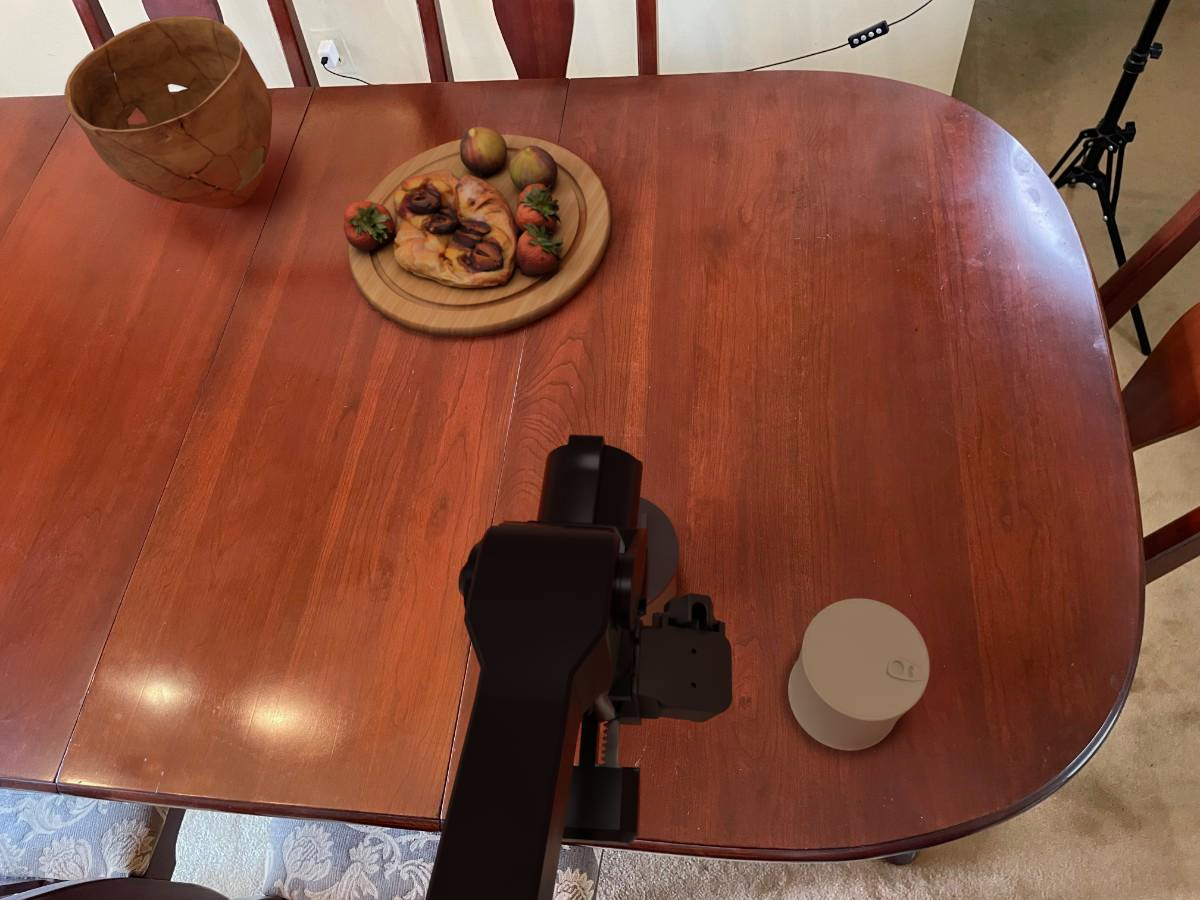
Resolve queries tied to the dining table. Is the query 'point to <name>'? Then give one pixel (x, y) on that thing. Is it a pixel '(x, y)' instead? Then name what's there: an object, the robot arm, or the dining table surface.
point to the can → (857, 673)
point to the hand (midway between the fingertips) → (608, 709)
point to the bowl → (176, 110)
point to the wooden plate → (478, 235)
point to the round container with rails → (659, 557)
